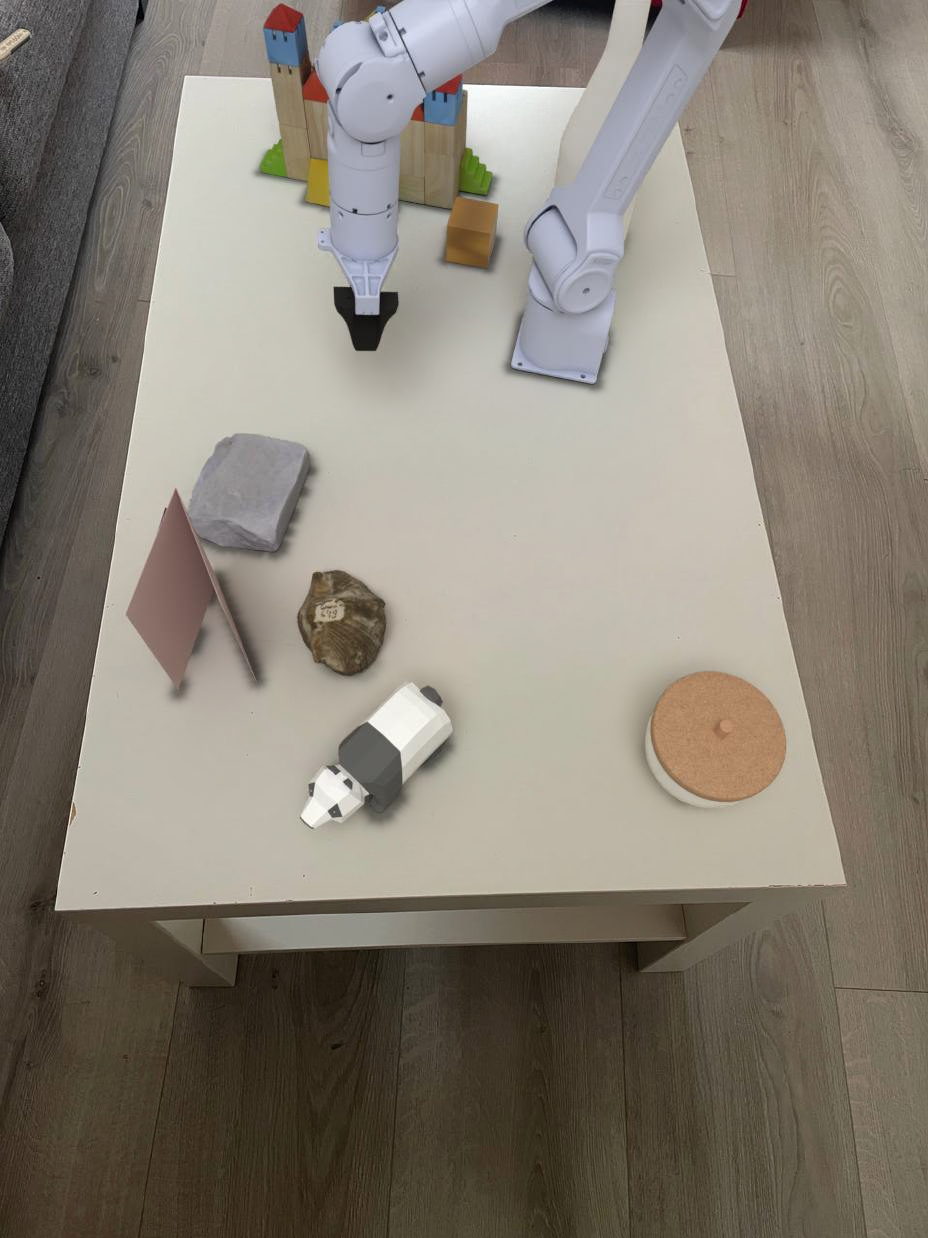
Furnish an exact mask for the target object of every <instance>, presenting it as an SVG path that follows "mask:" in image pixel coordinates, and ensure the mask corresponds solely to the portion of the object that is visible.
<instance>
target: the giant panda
mask: <svg viewBox="0 0 928 1238" xmlns="http://www.w3.org/2000/svg"><path fill="white" fill-rule="evenodd" d="M443 703H444V700H443V699H442V697H441V695H440V693H438V690H436V689H435V687H432V686H430V685H428V684H427V685H426V686H424V687H421V689H420V688H419V687H417V685H416V684H414V683H413V681H404V682H402V683H401V684H400V685H398V686H397V687H396V688H395V689H394V690H393V692H391V693H390V694H389V696H388V697H387V698H386V699H385V700H383V702H382V703H381V704H380V705H379V706H378V708H376V709H375V710H374V711H373V712H372V713H370V715H369V716H367V717H366V718H365V719H364V720H363V721H362V722H361V723H360V724H358V725H357V726H356V727H355V728H354V729H353V730H352V731H351V732H350V733H349V734H348V735H347V736H345V738H343V740H342V741H341V742H340V743H339V745H338V752H337V756H338V764H335V765H332V764H331V765H322V766H321V768H320V769H318V771H317V772H316V774H315V775H314V776H313V777H312V779H311V780H310V781H309V782H308V786H307V787H308V794H309V796H308V799H307V801H306V803H305V805H304V806H303V809H302V812H301V814H300V816H299V819H300V821H302V823H303V824H304V825H305V826H307V827H308V828H309V829H312V830H314V829H316V828H319V827H320V826H323V825H325V824H327V823H329V822H330V821H333V822H334V821H335V822H338V823H341V824H342V823H343V822H344V821H346V820H347V819H348V818H350V816H352V815H353V814H354V813H355V812H357V811H358V810H359V809H360V808H361V807H362V806H363V805H365V797H366V796H369V795H371V796H372V797H371V798H370V801H369V806H370V807H371V809H372V811H373V812H375V813H377V814H380V815H381V814H383V813H384V812H385V811H386V810H388V808H389V807H390V806H391V805H392V804H393V803H394V801H395V800H396V798H397V797H398V794H399V791H400V789H401V788H402V787H403V785H404V784H405V783H406V781H408V779H409V778H411V776H412V775H413V774H414V773H415V772H416V771H417V770H418V769H419V767H421V765H423V763H425V762H426V763H428V762H430V761H432V759H434V757H436V756H437V755H439V753H440V751H441V750H442V749H443V747H444V746H445V742H446V741H447V739H448V738H450V736H451V735H452V733H453V731H454V730H453V725H452V721H451V719H450V717H449V715H448V714H447V712H446V710H444V709H443V708H442V707H441V706H442V704H443Z"/></svg>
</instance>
